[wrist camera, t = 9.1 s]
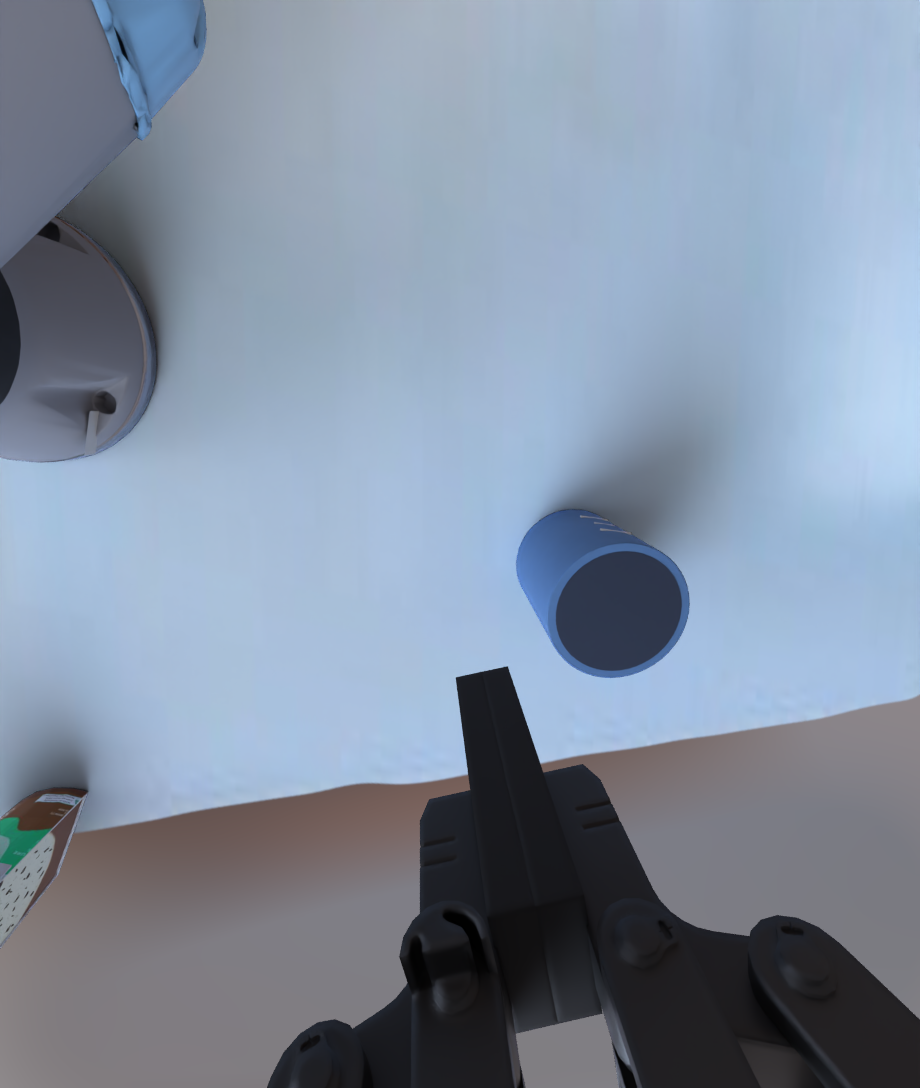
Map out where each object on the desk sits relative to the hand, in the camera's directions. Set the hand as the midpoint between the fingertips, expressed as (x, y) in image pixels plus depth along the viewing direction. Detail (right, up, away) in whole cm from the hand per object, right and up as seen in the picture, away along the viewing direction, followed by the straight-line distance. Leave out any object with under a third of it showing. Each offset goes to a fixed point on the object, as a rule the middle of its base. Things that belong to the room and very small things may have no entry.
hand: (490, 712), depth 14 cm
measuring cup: (+12, +2, +19) cm, 23 cm away
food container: (-37, -19, +27) cm, 49 cm away
